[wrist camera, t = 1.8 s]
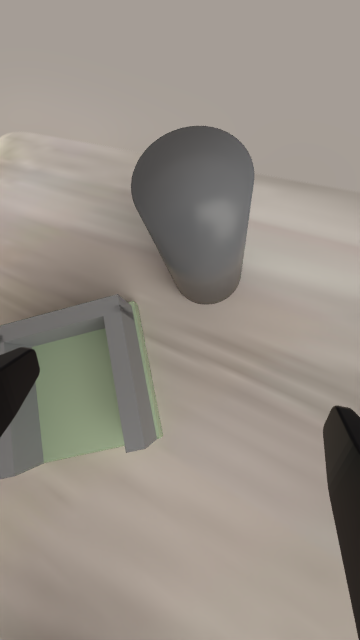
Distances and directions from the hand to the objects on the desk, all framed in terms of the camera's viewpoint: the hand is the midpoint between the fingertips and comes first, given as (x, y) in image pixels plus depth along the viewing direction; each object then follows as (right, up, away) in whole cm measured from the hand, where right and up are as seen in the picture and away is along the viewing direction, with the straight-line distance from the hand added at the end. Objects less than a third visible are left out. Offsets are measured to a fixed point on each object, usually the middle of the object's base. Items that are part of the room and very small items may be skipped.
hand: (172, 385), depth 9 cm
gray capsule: (+2, +6, +14) cm, 15 cm away
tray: (-7, -3, +14) cm, 16 cm away
